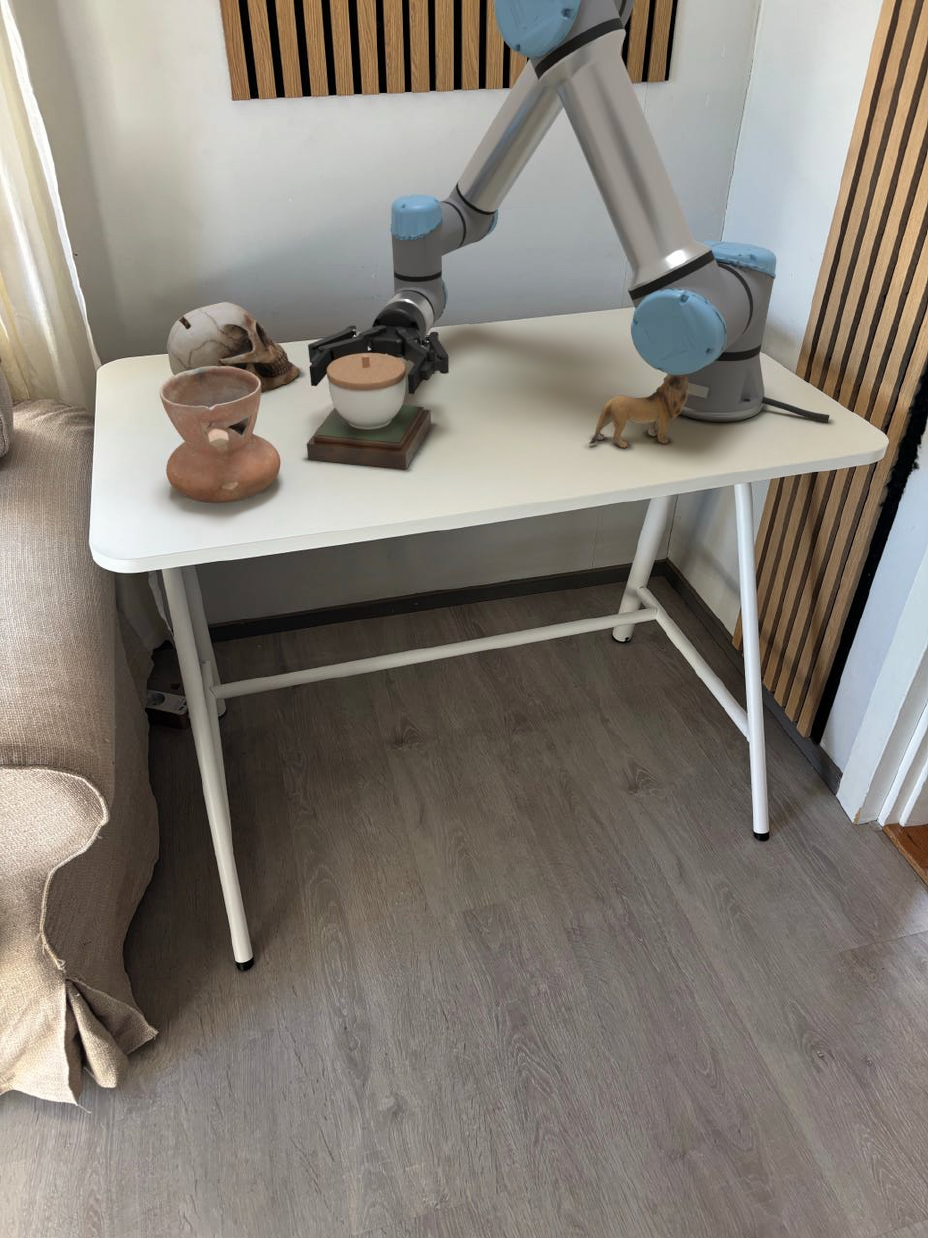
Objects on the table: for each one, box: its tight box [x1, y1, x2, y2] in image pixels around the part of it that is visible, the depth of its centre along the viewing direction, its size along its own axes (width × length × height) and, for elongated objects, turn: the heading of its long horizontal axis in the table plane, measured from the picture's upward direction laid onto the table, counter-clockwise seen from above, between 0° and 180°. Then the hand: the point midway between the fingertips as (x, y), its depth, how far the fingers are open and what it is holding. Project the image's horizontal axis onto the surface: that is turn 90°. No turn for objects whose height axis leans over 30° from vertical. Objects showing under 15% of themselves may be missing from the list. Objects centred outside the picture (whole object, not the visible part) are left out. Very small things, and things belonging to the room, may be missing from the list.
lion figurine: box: [588, 375, 690, 448], centre depth 134 cm, size 15×5×9 cm, turn 110°
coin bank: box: [166, 301, 301, 392], centre depth 150 cm, size 16×17×13 cm
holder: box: [306, 404, 432, 470], centre depth 136 cm, size 14×14×3 cm
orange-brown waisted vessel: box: [159, 366, 282, 504], centre depth 123 cm, size 18×14×14 cm
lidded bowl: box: [326, 353, 407, 430], centre depth 132 cm, size 11×11×9 cm
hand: (361, 380), depth 128 cm, fingers open, 13 cm apart
